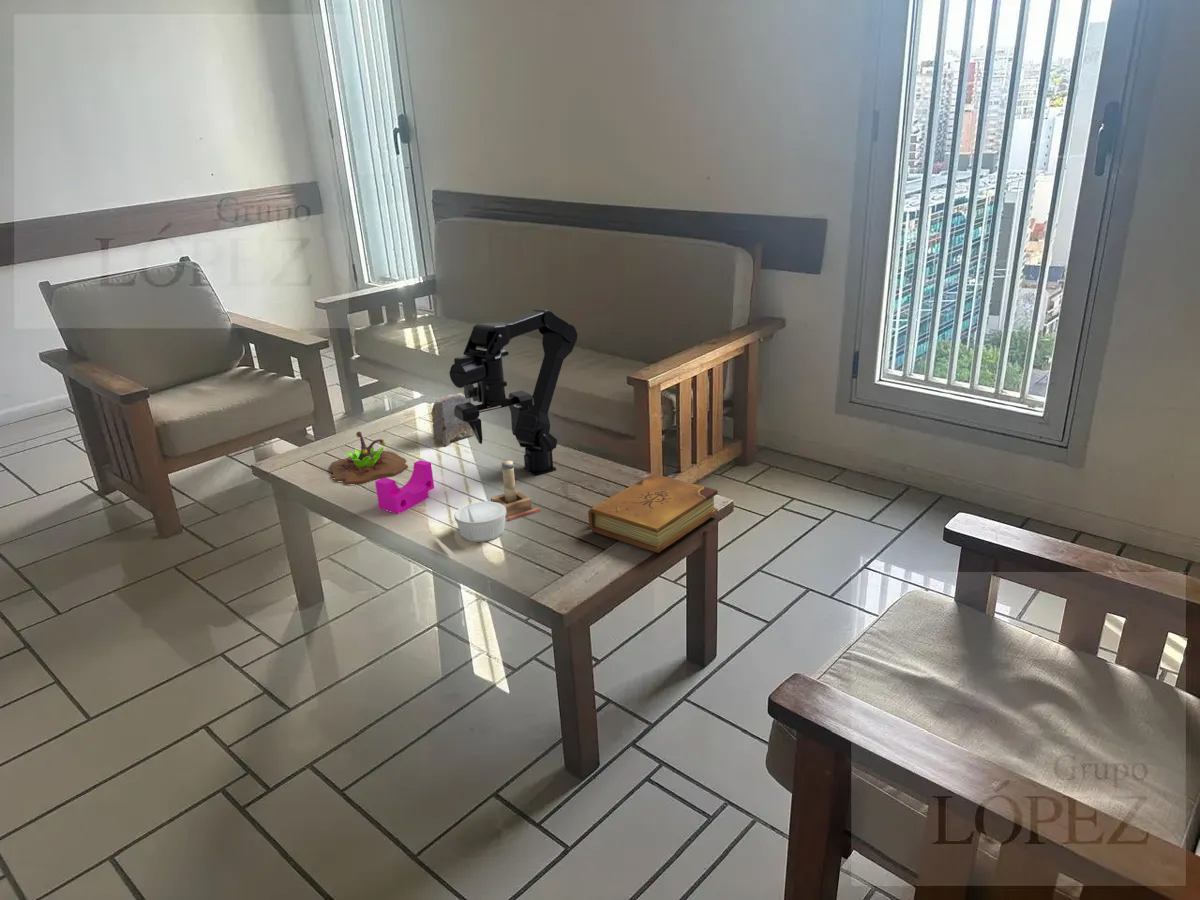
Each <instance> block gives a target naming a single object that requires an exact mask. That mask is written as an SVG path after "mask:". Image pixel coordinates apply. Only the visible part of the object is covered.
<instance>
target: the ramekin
mask: <svg viewBox="0 0 1200 900" xmlns="http://www.w3.org/2000/svg"><path fill="white" fill-rule="evenodd" d="M505 516H506V508H505V506H503V505H502V504H500V503H497V502H491V501H477V502H471V503H469V504H466V505H464V506H461V507H460V508H458V509H457V510H456V511H455V513H454V521H455V523H456V524H457V527H458V531H459V533H460V535H461V537H462V538H463V539H465V540H466V541H469V542H473V543H475V542H477V543H479V542H487V541H492V540H494V539H496V538H499V537H500V536H501V535H502V534H503V532H504V531H505V527H506V517H505Z"/></svg>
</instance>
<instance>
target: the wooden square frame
mask: <svg viewBox="0 0 1200 900" xmlns="http://www.w3.org/2000/svg"><path fill="white" fill-rule="evenodd" d="M489 500H490V502H497V503H500V504H502V505H503V506H505V508H506V516H505V518H507V520H508V521H512V520H515V519H520V518H522V517H526V516H528V515H532V514H535V513H538V512H541V508H539V507H536V508H533V507H532V499H531V498H530V497H528V496H527V495H525V494H524V493H522V492H520V491H519V490H518V489H516V500H517V501H515V502H512V503H508V504H506V502H505V493H501V494H499V495H494V496H492V497H490V499H489Z"/></svg>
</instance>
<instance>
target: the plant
mask: <svg viewBox="0 0 1200 900" xmlns="http://www.w3.org/2000/svg"><path fill="white" fill-rule="evenodd" d="M362 434H363V433H362V432H361V431H357V432H356V434H355V435H356V437H357V438H359V439H360V440H359V441H360V445H361V446H360V449H361V450H359V449H356V448H355V449H353V451H354V453H352V452H345V455H346V456H348V457H345V458H342V459H338V460H335V461H333V462H331V464H330V471H331V473H333V474H332V475H331V476H330V479H331V478H335V479H334V480H335V482H336V481H343V482H342V483H345V485H346V484H355V485H354V486H357V485H356V484H360V485H363V484H367V482H368V483H371V482H373V481H374V482H375V481H377V480H379V479H381V478H391V477H396V476H397V475H399V474H402V473H403V472H404V471H405V470H407V469H408V468H409V465H408V464H406V462H407V459H406V458H404V457H403V456H401V455H399V454H398V453H396V452H393V451H389V450H388V451H387V450H385V448H384V447H382V448H379V449H377V450H375V448H374V445H375V444H376V443H379V444H380V445H381V446H386V441H385V440H384V439H382V438H379V439H375V440H373V441H372V442H371V443H370V444H369V445H368V446H367V445H366V443H365V442H366V441H365V439H364V437H363V435H362ZM370 481H371V482H370Z"/></svg>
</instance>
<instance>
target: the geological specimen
mask: <svg viewBox="0 0 1200 900" xmlns="http://www.w3.org/2000/svg"><path fill="white" fill-rule="evenodd" d="M468 402H470V403H472V398H468V399H466V397H465V394H464V393H462V392H458V393H452V394H446V395H445V396H441V397H439V398H437V400H435V402H434V404H433V405H432V408H431V412H430V414H431V417H432V418H431V421H432V423H433V424H432V431H433V432H432V433H433V442H434V444H437V445H440V446H442V447H448V446H449V445H450V443H452V442H454V441H459V440H463V439H464V438H470V437H474V436H475V434H474V432H473V430H472V428H471V426H470V425H469V423H467V422H465V421H462V420H460V419H459V418H457V417H455V414H454V409H455V407H456V405H459V404H463V403H468Z"/></svg>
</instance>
